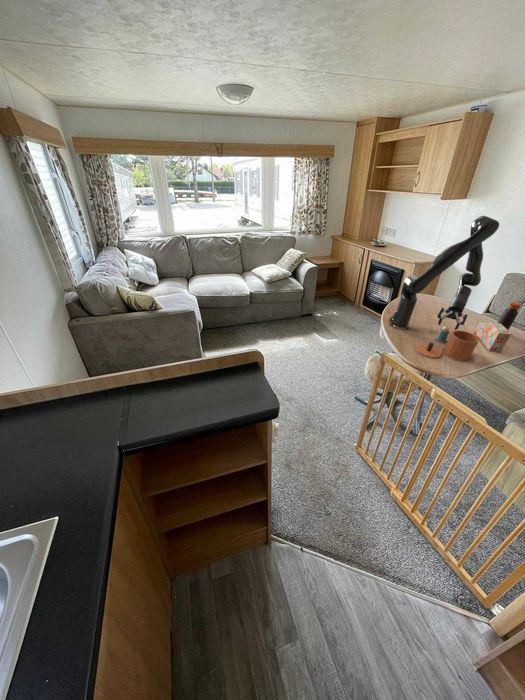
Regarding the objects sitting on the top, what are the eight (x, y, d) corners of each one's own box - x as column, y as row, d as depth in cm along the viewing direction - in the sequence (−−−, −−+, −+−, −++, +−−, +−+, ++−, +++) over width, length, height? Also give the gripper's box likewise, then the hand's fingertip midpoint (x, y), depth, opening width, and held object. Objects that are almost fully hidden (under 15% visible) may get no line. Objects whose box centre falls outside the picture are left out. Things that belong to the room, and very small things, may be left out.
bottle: (506, 332, 184) (523, 304, 173) (504, 336, 180) (522, 307, 169) (493, 328, 188) (509, 300, 176) (491, 332, 184) (508, 304, 172)
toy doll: (435, 341, 173) (441, 326, 167) (437, 338, 176) (443, 324, 170) (444, 343, 170) (450, 329, 165) (445, 340, 173) (452, 326, 168)
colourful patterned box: (474, 332, 183) (483, 315, 176) (484, 333, 182) (494, 316, 175) (488, 350, 166) (499, 332, 159) (500, 352, 165) (512, 334, 158)
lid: (412, 352, 162) (415, 343, 158) (418, 342, 170) (421, 334, 167) (438, 361, 155) (442, 353, 152) (443, 351, 164) (447, 342, 161)
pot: (441, 354, 160) (450, 336, 154) (446, 345, 169) (454, 328, 162) (466, 363, 154) (477, 345, 147) (470, 353, 162) (480, 335, 156)
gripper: (446, 297, 172) (434, 321, 171) (473, 304, 165) (461, 329, 163) (444, 302, 178) (433, 325, 177) (470, 309, 171) (459, 333, 170)
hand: (447, 327), depth 170 cm, fingers open, 8 cm apart
